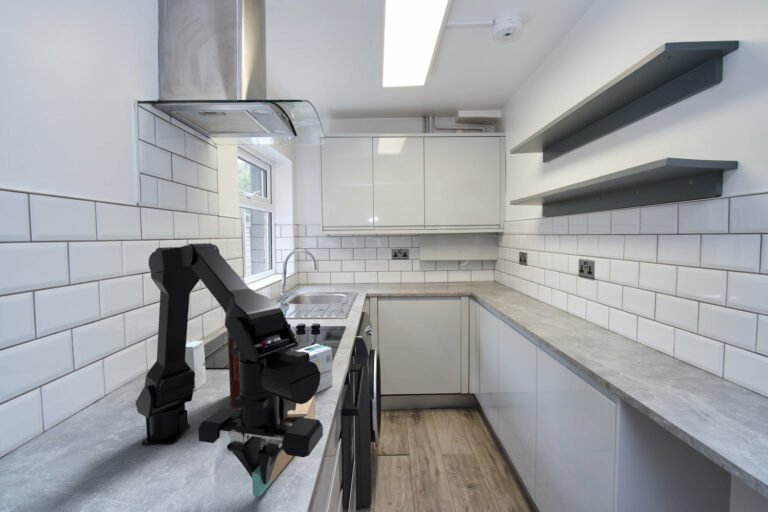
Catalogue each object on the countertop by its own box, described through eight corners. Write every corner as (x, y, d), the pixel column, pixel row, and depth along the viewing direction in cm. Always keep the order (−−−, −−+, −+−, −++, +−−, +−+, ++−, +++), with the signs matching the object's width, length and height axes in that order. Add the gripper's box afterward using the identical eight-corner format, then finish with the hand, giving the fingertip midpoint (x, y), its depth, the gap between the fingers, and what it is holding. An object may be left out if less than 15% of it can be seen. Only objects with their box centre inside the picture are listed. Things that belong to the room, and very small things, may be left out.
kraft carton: (242, 439, 69) (241, 415, 69) (257, 416, 78) (257, 395, 78) (307, 437, 69) (306, 413, 69) (315, 414, 78) (314, 393, 78)
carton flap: (259, 499, 53) (258, 471, 52) (253, 497, 53) (251, 470, 53) (309, 438, 68) (308, 416, 68) (304, 437, 69) (303, 416, 68)
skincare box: (196, 391, 92) (193, 346, 91) (178, 391, 91) (176, 347, 91) (207, 381, 98) (205, 340, 97) (191, 382, 98) (189, 340, 97)
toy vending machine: (229, 413, 80) (224, 294, 78) (234, 393, 90) (229, 287, 89) (269, 406, 82) (265, 291, 81) (269, 387, 93) (266, 285, 92)
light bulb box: (317, 379, 98) (316, 342, 97) (333, 385, 94) (332, 347, 93) (286, 393, 90) (284, 352, 89) (301, 400, 85) (300, 358, 85)
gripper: (335, 371, 59) (336, 458, 60) (240, 362, 63) (242, 443, 64) (306, 401, 48) (307, 507, 49) (193, 388, 52) (197, 486, 53)
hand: (262, 481), depth 54 cm, fingers closed, pressing on carton flap
